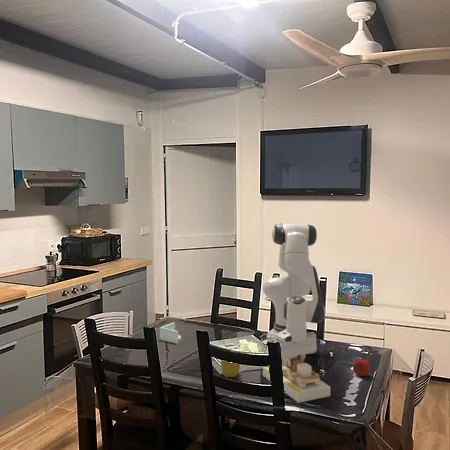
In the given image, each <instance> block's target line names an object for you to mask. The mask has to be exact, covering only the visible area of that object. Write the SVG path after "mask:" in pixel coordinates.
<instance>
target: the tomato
mask: <svg viewBox="0 0 450 450" xmlns="http://www.w3.org/2000/svg"><path fill="white" fill-rule="evenodd" d="M370 370H371V365H370V364H369V362H368V361H367V360H366V359H363V358H359V359H355V361H354V362H353V365H352V371H353V372H354V373H355V375H357V376H358V377H363V378H364V377H366V376H367V375H368V374H369V373H370Z"/></svg>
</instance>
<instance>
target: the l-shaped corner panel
mask: <svg viewBox="0 0 450 450" xmlns="http://www.w3.org/2000/svg"><path fill="white" fill-rule="evenodd" d="M159 340H160V341H164V342H169V343H172V344H176V345H177V344H179V341H181V340H182V336H181V335H180V334H179V330H176V322H172V323H168V324H165V325H162V326H161V327H159Z"/></svg>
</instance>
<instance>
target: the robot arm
mask: <svg viewBox="0 0 450 450" xmlns="http://www.w3.org/2000/svg"><path fill="white" fill-rule="evenodd" d="M317 237H318V232H317V229H316V227H315V226H314V225H312V224H305V223H304V224H303V223H296V222H295V223H276V224H275V225H273V229H272V231H271V238H272V241H273V243H275V244H276V245H278V246H279V245H280V246H279V255H278V267H279V268H280V270H281V271H282V272H285V273H287V276H280V277H279V276H277V277H275V276H274V277H270V278H267V279H265V281H264V282H263V285H262V291H263V294H264V295H265V296H266V297H267V298H268V299H269V300H270V301H271V303H272V304H273V306H274V312H275V321H274V322H273V328H272V329H271V330H269V331H268V332H267V334H266V339H264V340H262V342H263V343H264V344H267V342H268V341H274V342H279V343H280V347H281V358H286V359H287V361H288V366H293V362H291V361H290V359H291V357H292V356H297V357H299V356H300V357H299V358H301V359H302V360H303V361H302V363H304V361H305V359H306V357H307V356H306V355H310V354H315V353H316V352H317V350H318V347H317V346H318V345H317V334H316V333H315V332H314V331H308V332H307V329H308V328H307V323H312V324H320V323H322V321H324V320H325V318H326V308H325V305H324V301H323V298H322V291H321V286H320V280H319V277H318V275H319V274H318V272H317V269H316V267H315V266H314V265H312V263H311V262H310V258H309V257H310V256H309V247H310V246H311V247H312V246H313V245H314V244H315V243H316V241H317V239H318V238H317ZM310 292H311V295H312V300H306V299H305V298H304V297H305V296H308V295H309V294H310ZM263 343H262V344H263ZM264 344H263V345H264Z"/></svg>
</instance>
